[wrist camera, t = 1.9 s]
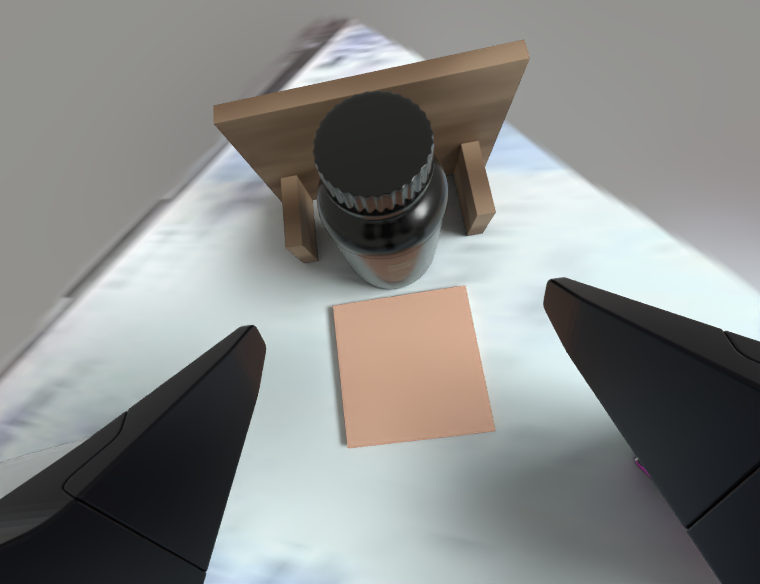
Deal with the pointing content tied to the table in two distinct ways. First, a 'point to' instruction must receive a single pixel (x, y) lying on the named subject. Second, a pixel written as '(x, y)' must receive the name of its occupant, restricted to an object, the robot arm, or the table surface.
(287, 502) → the table surface
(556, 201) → the table surface
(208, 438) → the robot arm
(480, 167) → the walnut shelf nook
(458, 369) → the terracotta tile
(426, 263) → the supplement bottle
